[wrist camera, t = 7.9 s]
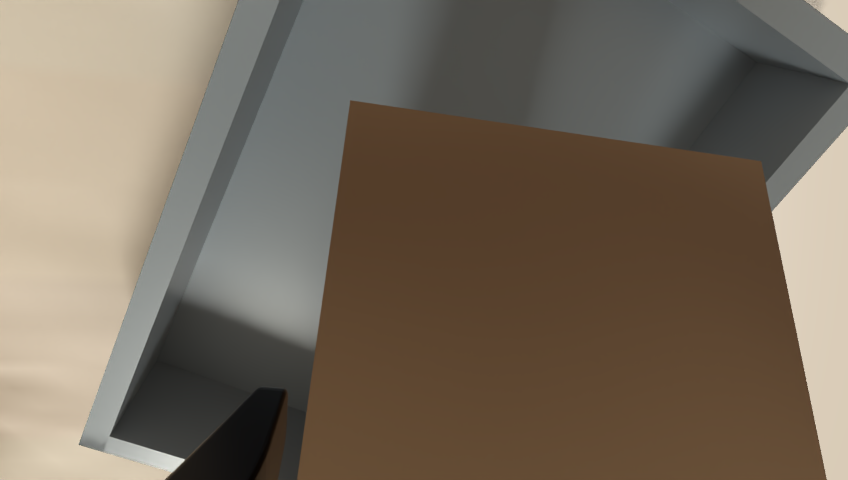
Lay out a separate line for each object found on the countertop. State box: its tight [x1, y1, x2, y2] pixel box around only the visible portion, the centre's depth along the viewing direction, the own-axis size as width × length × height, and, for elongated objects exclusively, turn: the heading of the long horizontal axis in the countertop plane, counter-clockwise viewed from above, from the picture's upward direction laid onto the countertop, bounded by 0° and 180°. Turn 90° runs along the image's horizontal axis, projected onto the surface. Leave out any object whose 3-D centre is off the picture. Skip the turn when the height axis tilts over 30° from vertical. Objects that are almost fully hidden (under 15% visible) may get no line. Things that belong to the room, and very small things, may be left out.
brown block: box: [297, 100, 827, 480], centre depth 10 cm, size 4×4×12 cm
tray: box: [79, 0, 848, 480], centre depth 13 cm, size 16×11×4 cm
